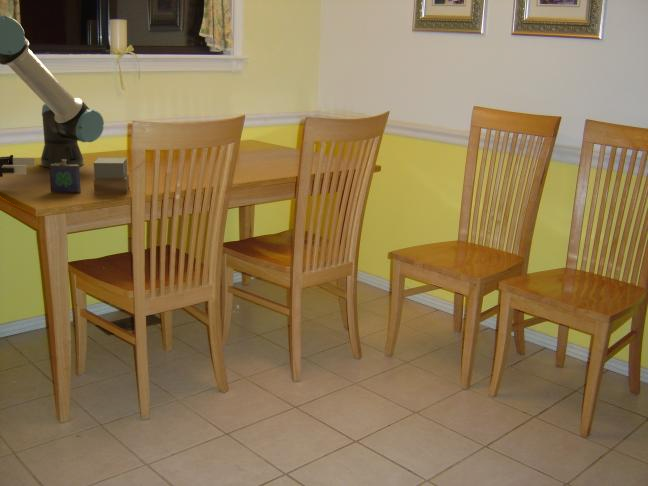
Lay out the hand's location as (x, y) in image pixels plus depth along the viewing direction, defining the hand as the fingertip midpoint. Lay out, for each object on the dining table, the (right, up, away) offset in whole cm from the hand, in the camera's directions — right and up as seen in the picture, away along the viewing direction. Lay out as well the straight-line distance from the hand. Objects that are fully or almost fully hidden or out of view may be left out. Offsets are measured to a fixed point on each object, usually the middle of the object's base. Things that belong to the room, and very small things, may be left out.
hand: (30, 165), depth 236 cm
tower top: (+23, -2, +8) cm, 24 cm away
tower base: (+23, -7, +10) cm, 26 cm away
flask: (+9, -8, +4) cm, 13 cm away
